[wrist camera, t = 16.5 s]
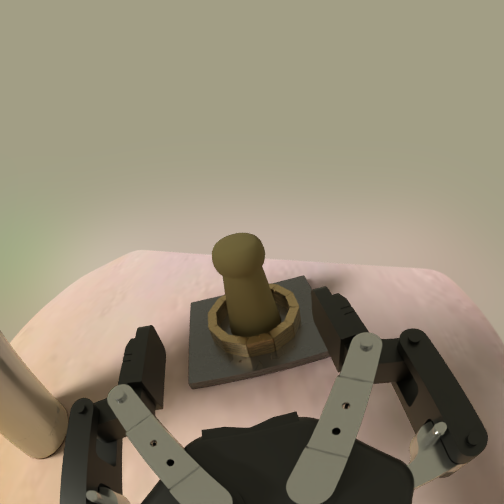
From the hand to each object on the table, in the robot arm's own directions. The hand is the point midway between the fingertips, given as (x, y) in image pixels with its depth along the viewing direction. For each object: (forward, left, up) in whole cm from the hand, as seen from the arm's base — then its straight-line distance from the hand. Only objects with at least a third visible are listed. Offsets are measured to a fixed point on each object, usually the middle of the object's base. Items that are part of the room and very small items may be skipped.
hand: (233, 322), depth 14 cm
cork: (+1, +14, -13) cm, 20 cm away
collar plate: (+1, +14, -14) cm, 20 cm away
